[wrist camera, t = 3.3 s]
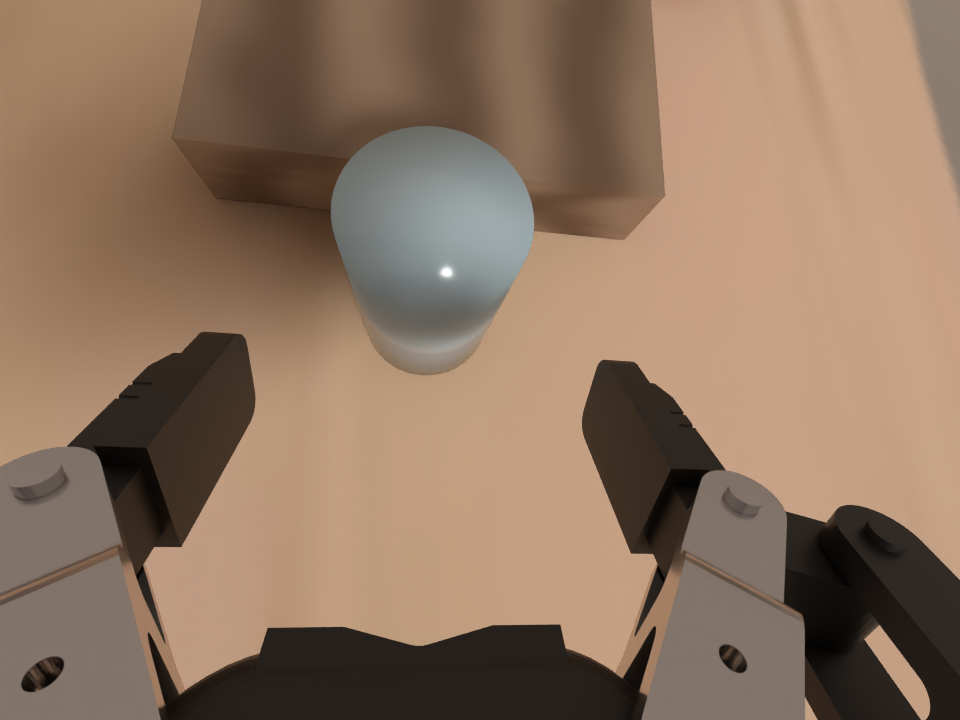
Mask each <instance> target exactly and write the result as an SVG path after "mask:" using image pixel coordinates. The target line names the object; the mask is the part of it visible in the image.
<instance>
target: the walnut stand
mask: <svg viewBox="0 0 960 720" xmlns="http://www.w3.org/2000/svg"><path fill="white" fill-rule="evenodd" d="M416 126H434V127H444V128H449V129H454V130H457V131H460V132H464V133H467V134H469V135H471V136H474V137H476V138H478V139H480V140H482V141H483V142H485V143H487V144H488V145H490V146H491V147H493V148H494V149H495V150H497V151H498V152H499V153H500V154H501V155H503V156H504V157H505V158H506V159H507V160H508V161H509V162H510V164H511V165H512V166H513V167H514V168H515V170H516V171H517V173H518V174H519V175H520V177H521V178H522V180H523V182H524V184H525V186H526V188H527V190H528V193H529V196H530V199H531V203H532V207H533V213H534V231H541V232H550V233H560V234H570V235H580V236H589V237H599V238H609V239H619V240H624V239H625V238H626V237H627V236H628V235H629V234H630V233H631V232H632V231H633V230H634V229H635V228H636V227H637V226H638V224H639V223H640V222H641V221H642V220H643V219H644V218H645V217H646V216H647V215H648V214H649V213H650V212H651V211H652V209H653V208H654V207H655V206H656V205H657V204H658V203H659V202H660V201H661V200H662V199H663V198H664V197H665V188H664V174H663V161H662V147H661V133H660V120H659V106H658V93H657V79H656V66H655V52H654V38H653V25H652V11H651V0H202V4H201V9H200V13H199V18H198V22H197V27H196V31H195V36H194V41H193V45H192V50H191V54H190V59H189V63H188V68H187V72H186V77H185V81H184V86H183V91H182V95H181V100H180V104H179V109H178V113H177V118H176V122H175V127H174V131H173V136H172V138H173V140H174V141H175V143H176V144H177V145H178V147H179V148H180V149H181V151H182V152H183V153H184V155H185V156H186V158H187V159H188V160H189V162H190V163H191V164H192V166H193V167H194V168H195V170H196V171H197V172H198V174H199V175H200V177H201V178H202V179H203V181H204V182H205V183H206V185H207V186H208V187H209V189H210V190H211V192H212V193H213V194H214V196H215V197H216V198H219V199H229V200H239V201H248V202H258V203H268V204H278V205H287V206H297V207H307V208H317V209H326V210H331V201H332V196H333V191H334V188H335V185H336V182H337V179H338V177H339V176H340V174H341V172H342V170H343V168H344V167H345V166H346V164H347V163H348V162H349V160H350V159H351V158H352V157H353V156H354V155H355V154H356V153H357V152H358V151H359V150H360V149H361V148H363V147H364V146H365V145H366V144H368V143H369V142H371V141H373V140H374V139H376V138H378V137H380V136H382V135H384V134H387V133H389V132H392V131H396V130H399V129H403V128H409V127H416Z"/></svg>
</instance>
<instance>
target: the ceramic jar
mask: <svg viewBox="0 0 960 720" xmlns="http://www.w3.org/2000/svg"><path fill="white" fill-rule="evenodd" d="M331 222H332V229H333V233H334V236H335V240H336V243H337V246H338V249H339V252H340V255H341V257H342V260H343V263H344V266H345V269H346V272H347V275H348V278H349V281H350V284H351V287H352V289H353V292H354V295H355V298H356V301H357V304H358V307H359V310H360V313H361V316H362V319H363V322H364V324H365V327H366V330H367V333H368V336H369V338H370V341H371V343H372V344H373V346H374V348H375V349H376V351H377V352H378V353H379V354H380V355H381V356H382V357H383V358H384V359H385V360H386V361H387V362H388V363H390V364H391V365H393V366H394V367H396V368H398V369H400V370H403V371H405V372H408V373H412V374H417V375H436V374H441V373H445V372H448V371H450V370H453V369H455V368H457V367H458V366H460V365H461V364H463V363H464V362H465V361H467V360H468V359H469V358H470V357H471V356H472V354H473V353H474V352H475V350H476V349H477V347H478V346H479V344H480V342H481V340H482V338H483V337H484V335H485V333H486V331H487V329H488V327H489V326H490V324H491V322H492V320H493V318H494V316H495V315H496V313H497V311H498V309H499V307H500V305H501V304H502V302H503V300H504V298H505V296H506V294H507V293H508V291H509V289H510V287H511V285H512V283H513V282H514V280H515V278H516V276H517V274H518V272H519V271H520V269H521V267H522V265H523V263H524V261H525V260H526V258H527V255H528V253H529V250H530V247H531V244H532V239H533V233H534V213H533V207H532V203H531V199H530V196H529V193H528V190H527V188H526V186H525V184H524V182H523V180H522V178H521V177H520V175H519V174H518V173H517V171H516V170H515V168H514V167H513V166H512V165H511V164H510V162H509V161H508V160H507V159H506V158H505V157H504V156H503V155H501V154H500V153H499V152H498V151H497V150H495V149H494V148H493V147H491V146H490V145H488V144H487V143H485V142H483V141H482V140H480V139H478V138H476V137H474V136H471V135H469V134H467V133H464V132H460V131H457V130H454V129H449V128H444V127H434V126H416V127H409V128H403V129H399V130H396V131H392V132H389V133H387V134H384V135H382V136H380V137H378V138H376V139H374V140H373V141H371V142H369V143H368V144H366V145H365V146H364V147H363V148H361V149H360V150H359V151H358V152H357V153H356V154H355V155H354V156H353V157H352V158H351V159H350V160H349V162H348V163H347V164H346V166H345V167H344V168H343V170H342V172H341V174H340V176H339V177H338V179H337V182H336V185H335V188H334V191H333V196H332V201H331Z"/></svg>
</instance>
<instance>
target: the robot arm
mask: <svg viewBox="0 0 960 720" xmlns="http://www.w3.org/2000/svg"><path fill="white" fill-rule="evenodd" d="M254 409H255V390H254V384H253V378H252V372H251V366H250V360H249V354H248V348H247V343H246V340H245V338H244V336H243V335H241V334H230V333H215V332H201V333H200V334H199V335H198V336H197V337H196V338H195V339H194V340H193V341H192V342H191V343H190V344H189V345H188V346H187V347H186V348H185V349H184V350H183V352H182V353H172V354H170V355H168V356H166V357H165V358H163V359H161V360H159V361H157V362H155V363H153V364H151V365H149V366H148V367H147V368H146V369H145V370H144V371H143V372H142V373H141V374H140V375H139V376H138V377H137V378H136V379H135V380H134V381H133V384H132V385H129V386H128V387H127V388H126V389H125V390H124V391H123V392H122V393H121V394H120V395H119V399H114V400H113V401H112V402H111V403H110V404H109V405H108V406H107V407H106V408H105V409H104V410H103V411H102V412H101V413H100V414H99V415H98V416H97V417H96V418H95V419H94V420H93V421H92V422H91V423H90V424H89V425H88V426H87V427H86V428H85V429H84V430H83V431H82V432H81V433H80V434H79V435H78V436H77V437H76V438H75V439H74V440H73V441H72V442H71V443H70V444H69V445H68V446H67V447H57V448H51V449H45V450H41V451H37V452H34V453H31V454H28V455H25V456H22V457H20V458H17V459H15V460H13V461H11V462H9V463H7V464H5V465H3V466H1V467H0V720H805V697H806V699H807V701H808V703H809V705H810V706H811V708H812V710H813V712H814V714H815V716H816V717H817V719H818V720H921V719H920V718H919V716H918V715H917V714H916V712H915V711H914V709H913V708H912V707H911V705H910V704H909V702H908V701H907V699H906V698H905V697H904V695H903V694H902V692H901V691H900V690H899V688H898V687H897V685H896V684H895V682H894V681H893V680H892V678H891V677H890V675H889V674H888V673H887V671H886V670H885V668H884V667H883V665H882V664H881V663H880V661H879V660H878V658H877V657H876V656H875V654H874V653H873V651H872V650H871V648H870V647H869V646H868V644H867V643H866V641H865V640H864V639H865V638H866V637H867V636H868V635H869V634H870V633H871V632H872V631H873V630H874V629H875V628H877V627H878V626H879V625H880V626H881V627H882V629H883V630H884V631H885V632H886V634H887V635H888V636H889V638H890V639H891V640H892V642H893V643H894V644H895V646H896V647H897V648H898V650H899V651H900V652H901V654H902V655H903V656H904V658H905V659H906V660H907V662H908V663H909V664H910V666H911V667H912V668H913V670H914V671H915V672H916V674H917V675H918V676H919V678H920V679H921V681H922V682H923V684H924V686H925V688H926V690H927V693H928V696H929V699H930V713H929V716H928V718H927V719H926V720H960V580H959V579H958V578H957V577H956V576H955V575H954V574H953V573H952V572H951V571H950V570H949V569H948V568H947V567H946V566H945V565H944V564H943V563H942V562H941V561H940V559H939V558H938V557H937V556H936V555H935V554H934V553H933V552H932V551H931V550H930V549H929V548H928V547H927V546H926V545H925V544H924V543H923V542H922V541H921V540H920V539H919V538H918V537H916V536H915V535H914V534H913V533H912V532H910V531H909V530H908V529H907V528H905V527H904V526H902V525H901V524H899V523H898V522H896V521H894V520H893V519H891V518H889V517H887V516H885V515H883V514H881V513H879V512H877V511H874V510H871V509H868V508H865V507H861V506H855V505H845V506H841V507H839V508H838V509H837V510H836V511H835V512H834V514H833V515H832V516H831V518H830V519H829V520H828V521H827V523H825V522H822V521H818V520H814V519H811V518H807V517H804V516H800V515H796V514H793V513H789V512H786V511H785V510H784V508H783V506H782V504H781V503H780V502H779V500H778V499H777V498H776V497H775V496H774V495H773V494H772V493H771V492H770V491H769V490H768V489H766V488H765V487H764V486H762V485H761V484H759V483H758V482H756V481H754V480H752V479H750V478H748V477H746V476H744V475H741V474H738V473H735V472H731V471H726V470H725V468H724V467H723V466H722V464H721V463H720V462H719V460H718V459H717V457H716V456H715V455H714V453H713V452H712V451H711V449H710V448H709V447H708V445H707V444H706V442H705V441H704V440H703V438H702V437H701V436H700V434H699V433H698V432H697V430H696V429H695V428H692V423H691V422H690V421H689V419H688V418H687V417H686V415H683V411H682V410H681V408H680V407H679V406H678V404H677V403H676V401H675V400H674V399H673V397H671V396H670V395H669V394H668V393H666V392H665V391H664V390H662V389H661V388H660V387H658V386H657V385H656V384H653V383H650V382H649V381H648V379H647V378H646V377H645V375H644V374H643V372H642V371H641V369H640V368H639V366H638V365H637V364H636V363H635V362H630V361H615V360H602V361H601V362H600V363H599V364H598V366H597V369H596V372H595V375H594V379H593V382H592V385H591V388H590V392H589V395H588V398H587V402H586V405H585V408H584V412H583V417H582V429H583V435H584V438H585V441H586V443H587V445H588V448H589V450H590V453H591V455H592V458H593V460H594V463H595V465H596V468H597V470H598V473H599V475H600V478H601V480H602V483H603V485H604V488H605V490H606V493H607V495H608V497H609V500H610V502H611V505H612V507H613V510H614V512H615V515H616V517H617V520H618V522H619V525H620V527H621V530H622V532H623V535H624V537H625V540H626V542H627V545H628V547H629V549H630V552H631V553H634V554H653V555H654V557H655V559H656V561H657V564H656V566H655V568H654V570H653V572H652V574H651V577H650V580H649V583H648V586H647V589H646V592H645V595H644V598H643V600H642V603H641V606H640V609H639V612H638V615H637V618H636V621H635V624H634V627H633V630H632V633H631V636H630V638H629V641H628V644H627V647H626V650H625V652H624V655H623V657H622V659H621V662H620V664H619V666H618V668H617V670H616V673H614V672H613V671H612V670H610V669H609V668H607V667H606V666H604V665H602V664H600V663H599V662H597V661H595V660H593V659H591V658H589V657H587V656H585V655H582V654H580V653H577V652H575V651H573V650H569V649H566V648H565V644H564V640H563V635H562V631H561V626H560V625H492V626H489V627H486V628H482V629H479V630H476V631H472V632H469V633H466V634H462V635H459V636H456V637H452V638H449V639H445V640H442V641H439V642H435V643H432V644H429V645H424V646H413V645H409V644H405V643H401V642H398V641H394V640H390V639H387V638H383V637H379V636H375V635H372V634H368V633H364V632H361V631H357V630H353V629H349V628H346V627H306V628H268V629H267V632H266V635H265V638H264V642H263V645H262V648H261V651H260V654H256V655H253V656H249V657H247V658H244V659H242V660H239V661H237V662H235V663H232V664H230V665H227V666H225V667H224V668H222V669H220V670H218V671H216V672H214V673H212V674H210V675H208V676H206V677H205V678H203V679H202V680H200V681H199V682H197V683H196V684H194V685H192V686H191V687H189V688H188V689H186V690H185V689H184V686H183V683H182V681H181V678H180V675H179V673H178V670H177V667H176V664H175V662H174V659H173V655H172V652H171V649H170V646H169V642H168V639H167V635H166V632H165V629H164V625H163V622H162V619H161V615H160V612H159V609H158V605H157V602H156V598H155V595H154V592H153V588H152V585H151V582H150V578H149V575H148V572H147V569H146V567H145V565H144V563H145V561H146V559H147V558H148V556H149V554H150V553H151V551H152V549H153V548H154V547H182V545H183V543H184V541H185V539H186V538H187V536H188V534H189V532H190V530H191V528H192V527H193V525H194V523H195V521H196V519H197V518H198V516H199V514H200V512H201V510H202V509H203V507H204V505H205V503H206V501H207V500H208V498H209V496H210V494H211V492H212V490H213V489H214V487H215V485H216V483H217V481H218V480H219V478H220V476H221V474H222V472H223V471H224V469H225V467H226V465H227V463H228V462H229V460H230V458H231V456H232V454H233V452H234V451H235V449H236V447H237V445H238V443H239V442H240V440H241V438H242V436H243V434H244V433H245V431H246V429H247V427H248V425H249V424H250V422H251V420H252V417H253V413H254Z"/></svg>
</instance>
